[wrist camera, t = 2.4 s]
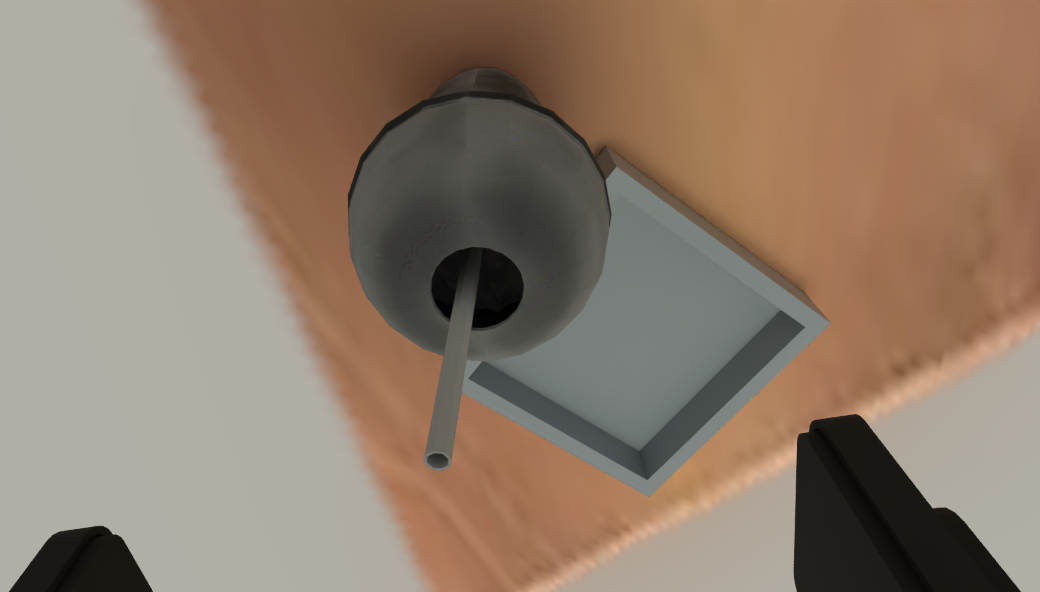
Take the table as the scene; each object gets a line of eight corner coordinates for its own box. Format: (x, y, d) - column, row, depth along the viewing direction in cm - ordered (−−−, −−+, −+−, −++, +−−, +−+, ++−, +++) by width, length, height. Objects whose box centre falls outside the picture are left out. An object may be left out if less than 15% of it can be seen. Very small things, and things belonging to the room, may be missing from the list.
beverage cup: (604, 94, 29) (778, 350, 11) (512, 232, 32) (536, 613, 14) (451, -7, 27) (374, 114, 9) (367, 150, 30) (184, 473, 12)
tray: (605, 145, 30) (616, 166, 27) (804, 292, 34) (830, 323, 31) (447, 347, 35) (443, 382, 32) (638, 457, 38) (649, 497, 36)
